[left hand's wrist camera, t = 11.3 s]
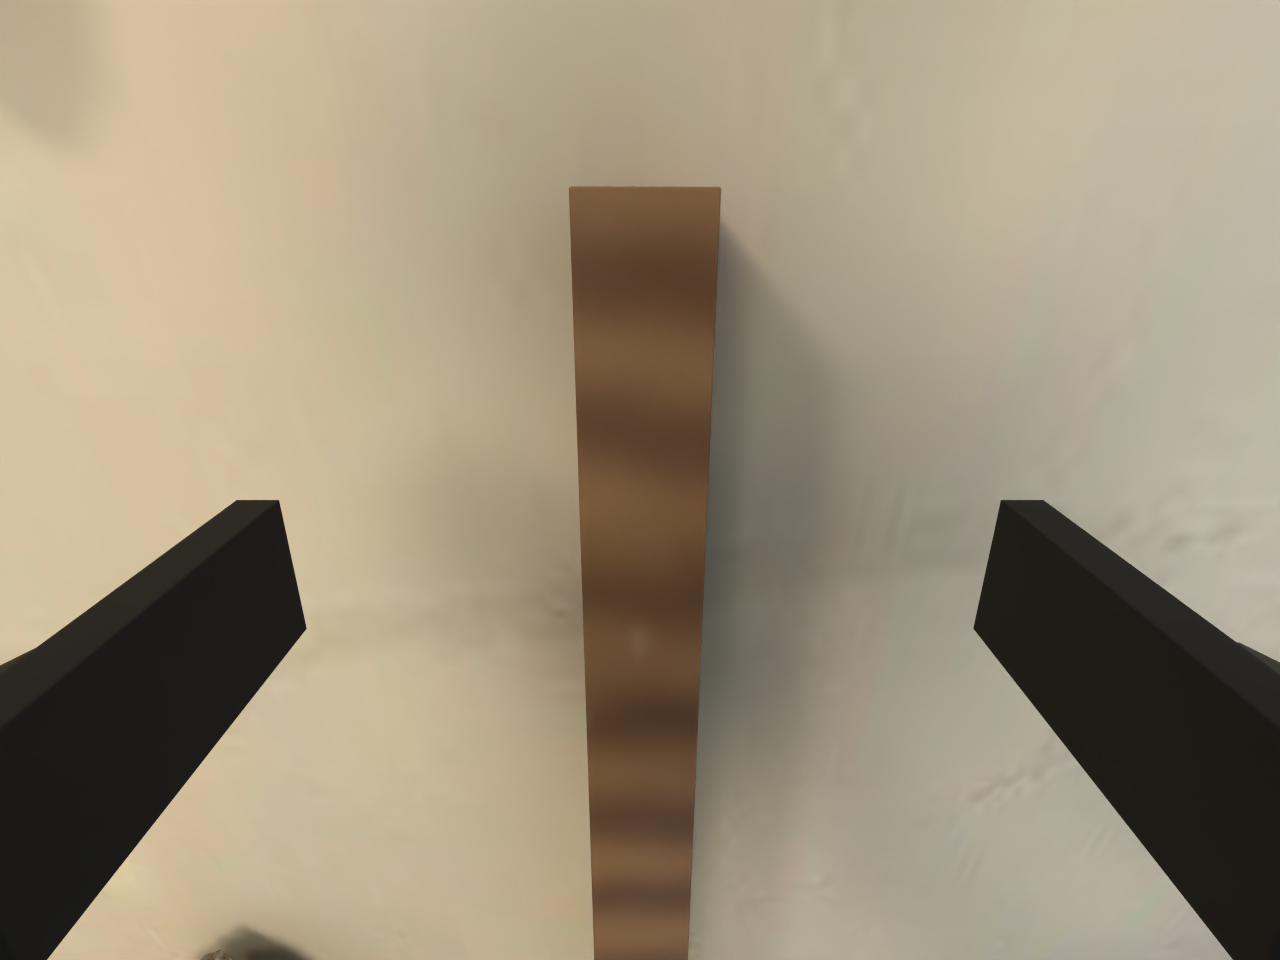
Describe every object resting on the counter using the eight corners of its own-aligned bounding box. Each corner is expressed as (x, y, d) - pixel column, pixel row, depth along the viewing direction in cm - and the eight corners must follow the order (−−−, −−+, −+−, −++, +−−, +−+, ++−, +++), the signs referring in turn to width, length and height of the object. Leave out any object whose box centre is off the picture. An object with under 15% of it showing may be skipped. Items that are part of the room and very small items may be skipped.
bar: (586, 190, 28) (568, 186, 21) (701, 191, 28) (721, 187, 21) (606, 1001, 47) (600, 1137, 41) (674, 1002, 47) (679, 1138, 41)
